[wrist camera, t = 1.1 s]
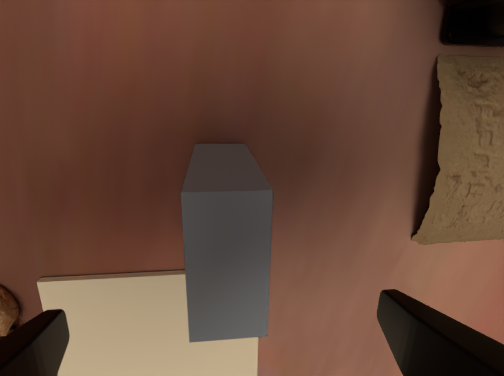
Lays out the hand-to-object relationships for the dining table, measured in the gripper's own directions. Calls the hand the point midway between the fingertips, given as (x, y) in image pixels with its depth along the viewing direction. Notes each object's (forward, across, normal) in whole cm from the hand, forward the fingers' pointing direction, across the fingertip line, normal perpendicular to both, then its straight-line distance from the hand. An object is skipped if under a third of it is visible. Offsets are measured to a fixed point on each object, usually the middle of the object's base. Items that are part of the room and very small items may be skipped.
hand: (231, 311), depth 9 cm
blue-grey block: (+11, 0, 0) cm, 11 cm away
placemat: (+11, +4, +12) cm, 17 cm away
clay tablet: (+12, -18, -2) cm, 22 cm away
